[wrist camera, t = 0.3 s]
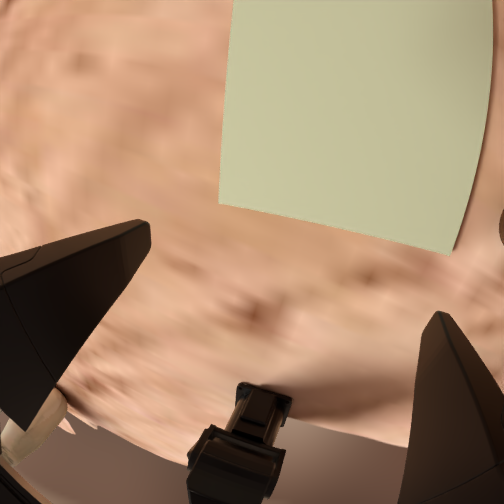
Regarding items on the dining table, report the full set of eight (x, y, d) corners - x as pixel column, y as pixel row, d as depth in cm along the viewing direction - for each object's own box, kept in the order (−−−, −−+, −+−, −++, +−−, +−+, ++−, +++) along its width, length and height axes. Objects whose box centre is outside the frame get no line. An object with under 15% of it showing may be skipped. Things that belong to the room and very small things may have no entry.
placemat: (448, 252, 20) (449, 256, 19) (221, 200, 24) (218, 203, 24) (484, -41, 8) (487, -44, 8) (246, -78, 13) (244, -81, 12)
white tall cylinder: (48, 374, 60) (-18, 445, 36) (77, 404, 61) (15, 478, 38) (44, 382, 65) (-14, 446, 42) (71, 408, 66) (15, 475, 43)
